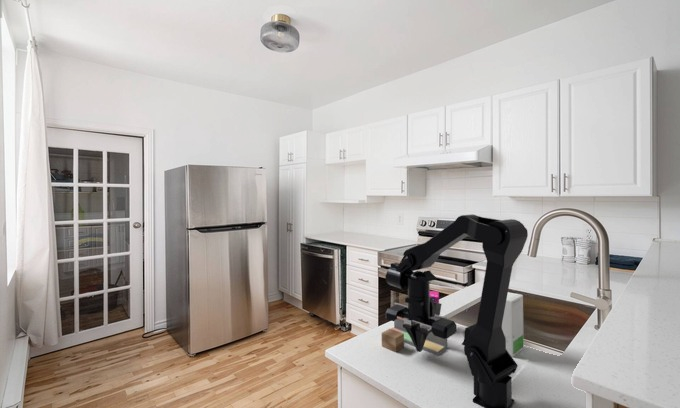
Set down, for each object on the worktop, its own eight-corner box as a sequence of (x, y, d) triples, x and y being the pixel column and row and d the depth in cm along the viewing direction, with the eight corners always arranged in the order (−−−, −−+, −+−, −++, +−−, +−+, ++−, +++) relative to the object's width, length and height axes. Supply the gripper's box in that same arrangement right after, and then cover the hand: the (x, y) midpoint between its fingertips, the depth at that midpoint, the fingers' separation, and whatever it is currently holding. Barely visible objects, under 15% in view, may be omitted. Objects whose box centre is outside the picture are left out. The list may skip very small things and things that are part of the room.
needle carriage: (407, 344, 91) (407, 331, 91) (395, 352, 87) (395, 338, 87) (393, 339, 95) (393, 326, 95) (381, 346, 91) (381, 332, 91)
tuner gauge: (447, 348, 89) (447, 317, 89) (436, 356, 85) (436, 324, 85) (396, 329, 102) (395, 302, 102) (384, 335, 98) (384, 307, 98)
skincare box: (512, 358, 83) (512, 301, 83) (487, 349, 88) (487, 295, 88) (524, 348, 89) (524, 294, 88) (500, 339, 94) (500, 289, 93)
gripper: (466, 294, 82) (466, 352, 83) (406, 281, 96) (407, 331, 96) (445, 305, 74) (446, 369, 75) (384, 289, 88) (385, 343, 88)
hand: (419, 351), depth 84 cm, fingers closed
